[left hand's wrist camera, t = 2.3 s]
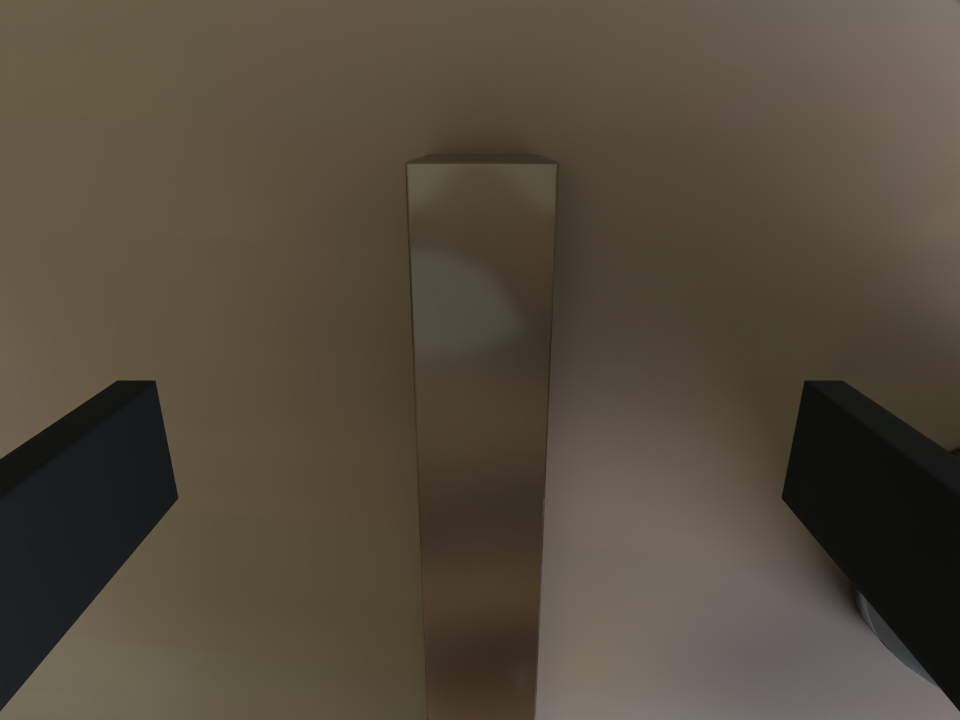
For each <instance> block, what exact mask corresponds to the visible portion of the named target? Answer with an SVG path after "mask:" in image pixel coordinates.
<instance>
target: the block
mask: <svg viewBox="0 0 960 720" xmlns="http://www.w3.org/2000/svg"><path fill="white" fill-rule="evenodd" d="M405 169H406V194H407V219H408V245H409V270H410V295H411V320H412V345H413V370H414V395H415V420H416V445H417V470H418V495H419V520H420V545H421V571H422V596H423V621H424V646H425V671H426V696H427V720H535V718H536V695H537V671H538V647H539V623H540V599H541V576H542V552H543V528H544V504H545V480H546V457H547V433H548V409H549V385H550V362H551V338H552V314H553V290H554V266H555V243H556V219H557V195H558V171H559V164H558V162H556V161H553V160H550V159H547V158H543V157H540V156H537V155H426V156H423V157H420V158H417V159H414V160H411V161H408V162H406V164H405Z"/></svg>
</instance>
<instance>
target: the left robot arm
mask: <svg viewBox="0 0 960 720" xmlns="http://www.w3.org/2000/svg"><path fill="white" fill-rule="evenodd" d="M177 499H178V494H177V489H176V484H175V479H174V473H173V468H172V463H171V458H170V453H169V448H168V443H167V438H166V433H165V428H164V422H163V417H162V412H161V407H160V402H159V397H158V392H157V387H156V382H155V381H116V382H115V383H113V384H112V385H110V386H109V387H107V388H106V389H104V390H103V391H101V392H100V393H98V394H97V395H95V396H94V397H92V398H91V399H89V400H88V401H86V402H85V403H83V404H82V405H80V406H79V407H77V408H76V409H74V410H73V411H71V412H70V413H68V414H67V415H65V416H64V417H62V418H61V419H60V420H58V421H57V422H55V423H54V424H52V425H51V426H49V427H48V428H46V429H45V430H43V431H42V432H40V433H39V434H37V435H36V436H34V437H33V438H31V439H30V440H28V441H27V442H25V443H24V444H22V445H21V446H19V447H18V448H16V449H15V450H13V451H12V452H10V453H9V454H7V455H6V456H4V457H3V458H1V459H0V711H1V710H2V709H3V708H4V706H5V705H6V704H7V703H8V702H9V700H10V699H11V698H12V697H13V696H14V694H15V693H16V692H17V691H18V690H19V688H20V687H21V686H22V685H23V684H24V682H25V681H26V680H27V679H28V678H29V676H30V675H31V674H32V673H33V672H34V670H35V669H36V668H37V667H38V666H39V664H40V663H41V662H42V661H43V660H44V658H45V657H46V656H47V655H48V654H49V652H50V651H51V650H52V649H53V648H54V646H55V645H56V644H57V643H58V642H59V641H60V639H61V638H62V637H63V636H64V635H65V633H66V632H67V631H68V630H69V629H70V627H71V626H72V625H73V624H74V623H75V621H76V620H77V619H78V618H79V617H80V615H81V614H82V613H83V612H84V611H85V609H86V608H87V607H88V606H89V605H90V603H91V602H92V601H93V600H94V599H95V597H96V596H97V595H98V594H99V593H100V591H101V590H102V589H103V588H104V587H105V585H106V584H107V583H108V582H109V581H110V579H111V578H112V577H113V576H114V575H115V573H116V572H117V571H118V570H119V569H120V567H121V566H122V565H123V564H124V563H125V561H126V560H127V559H128V558H129V557H130V555H131V554H132V553H133V552H134V551H135V550H136V548H137V547H138V546H139V545H140V544H141V542H142V541H143V540H144V539H145V538H146V536H147V535H148V534H149V533H150V532H151V530H152V529H153V528H154V527H155V526H156V524H157V523H158V522H159V521H160V520H161V518H162V517H163V516H164V515H165V514H166V512H167V511H168V510H169V509H170V508H171V506H172V505H173V504H174V503H175V502H176V500H177ZM782 499H783V500H784V502H785V503H786V504H787V505H788V506H789V508H790V509H791V510H792V511H793V512H794V514H795V515H796V516H797V517H798V518H799V520H800V521H801V522H802V523H803V524H804V526H805V527H806V528H807V529H808V530H809V532H810V533H811V534H812V535H813V536H814V538H815V539H816V540H817V541H818V542H819V544H820V545H821V546H822V547H823V548H824V550H825V551H826V552H827V553H828V554H829V555H830V557H831V558H832V559H833V560H834V561H835V563H836V564H837V565H838V566H839V567H840V569H841V570H842V571H843V572H844V573H845V575H846V576H847V577H848V578H849V579H850V581H851V582H852V583H853V591H854V596H855V600H856V603H857V606H858V609H859V611H860V613H861V615H862V617H863V619H864V620H865V621H866V623H867V624H868V626H869V627H870V628H871V629H872V631H873V632H874V633H875V634H876V636H877V637H878V638H879V639H880V641H881V642H882V643H883V644H884V645H885V646H886V647H887V648H888V650H890V651H891V652H892V653H893V654H894V655H895V656H896V657H897V658H898V659H899V660H900V661H901V662H903V663H904V664H905V665H906V666H907V667H909V668H910V669H911V670H913V671H914V672H916V673H917V674H919V675H920V676H922V677H923V678H924V679H926V680H927V681H929V682H930V683H932V684H933V685H935V686H936V687H938V688H939V689H941V690H942V691H943V692H944V693H945V694H946V696H947V697H948V698H949V699H950V700H951V702H952V703H953V704H954V705H955V706H956V708H957V709H958V710H959V711H960V451H959V452H956V453H954V454H951V453H950V452H948V451H947V450H945V449H944V448H942V447H941V446H939V445H938V444H936V443H935V442H933V441H932V440H930V439H929V438H927V437H926V436H924V435H923V434H921V433H920V432H918V431H917V430H915V429H914V428H912V427H911V426H909V425H908V424H906V423H905V422H903V421H902V420H900V419H899V418H898V417H896V416H895V415H893V414H892V413H890V412H889V411H887V410H886V409H884V408H883V407H881V406H880V405H878V404H877V403H875V402H874V401H872V400H871V399H869V398H868V397H866V396H865V395H863V394H862V393H860V392H859V391H857V390H856V389H854V388H853V387H851V386H850V385H848V384H847V383H845V382H844V381H805V382H804V387H803V392H802V397H801V402H800V407H799V412H798V417H797V422H796V427H795V433H794V438H793V443H792V448H791V453H790V458H789V463H788V468H787V473H786V479H785V484H784V489H783V494H782Z"/></svg>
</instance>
